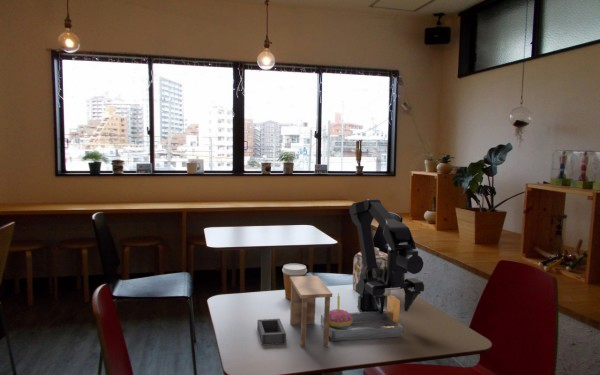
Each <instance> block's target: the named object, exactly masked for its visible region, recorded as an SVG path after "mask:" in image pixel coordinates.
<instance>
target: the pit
mask: <svg viewBox="0 0 600 375" xmlns="http://www.w3.org/2000/svg"><path fill="white" fill-rule="evenodd" d="M256 324H257V326H256V327H257V328H256V329H257V333H258V336H259V340H260V343H261V346H266V345H281V344H282V345H283V344H287V343H286V342H287V340H286V338H287V332H286V331H285V328H284V326H283V324H282V321H281V319H280V318H267V319H266V318H264V319H257V323H256Z"/></svg>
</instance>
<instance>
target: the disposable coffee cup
mask: <svg viewBox="0 0 600 375" xmlns="http://www.w3.org/2000/svg"><path fill="white" fill-rule="evenodd" d="M281 270H282V273H283V286H284V296H285V299H287V300H289V301H291V281H290V277H295V276H307V275H306V274H307V272H308V269H307V266H306V265H304V264H303V263H302V264H301V263H287V264H284V265H283V267H282V269H281Z"/></svg>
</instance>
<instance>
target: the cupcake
mask: <svg viewBox="0 0 600 375" xmlns="http://www.w3.org/2000/svg"><path fill="white" fill-rule="evenodd" d="M340 299H341V298H340V293H338V294H337V309H332V310H330V314H329V325H331V326H333V328H334V329H335V330H336V329H349V326H351V325H352V324H353V323H352V316H351V315H350V313H351V312H348V311H347V310H344V309H341V307H340V302H341V301H340Z"/></svg>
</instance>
